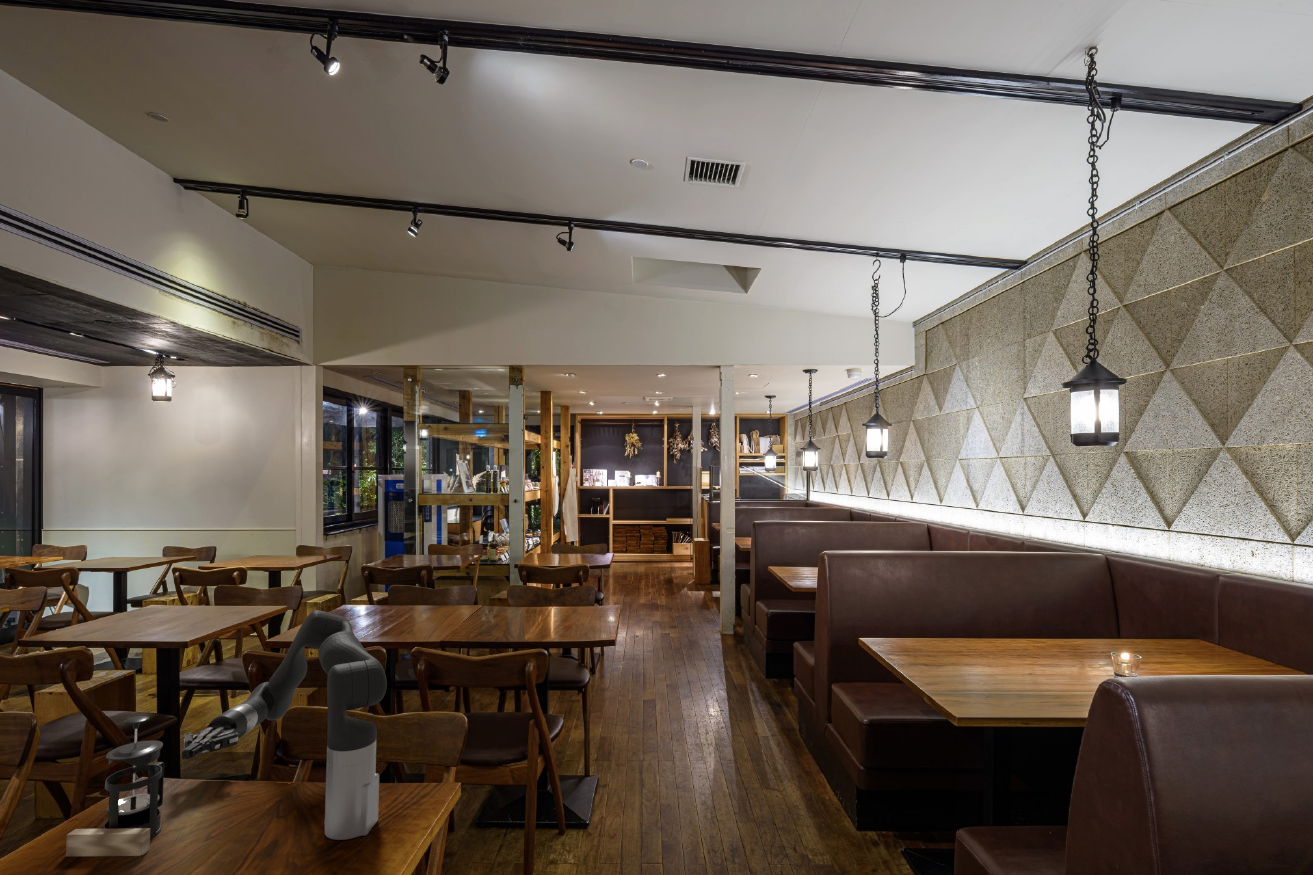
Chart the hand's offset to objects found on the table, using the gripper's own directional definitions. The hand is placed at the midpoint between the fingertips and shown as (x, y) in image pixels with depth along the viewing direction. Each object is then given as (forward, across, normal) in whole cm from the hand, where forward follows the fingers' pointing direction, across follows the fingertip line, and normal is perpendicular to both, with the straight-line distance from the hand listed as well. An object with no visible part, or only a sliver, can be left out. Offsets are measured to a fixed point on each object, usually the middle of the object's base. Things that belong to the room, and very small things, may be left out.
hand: (185, 755), depth 148 cm
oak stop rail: (+21, 0, +9) cm, 23 cm away
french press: (+15, 0, +9) cm, 18 cm away
